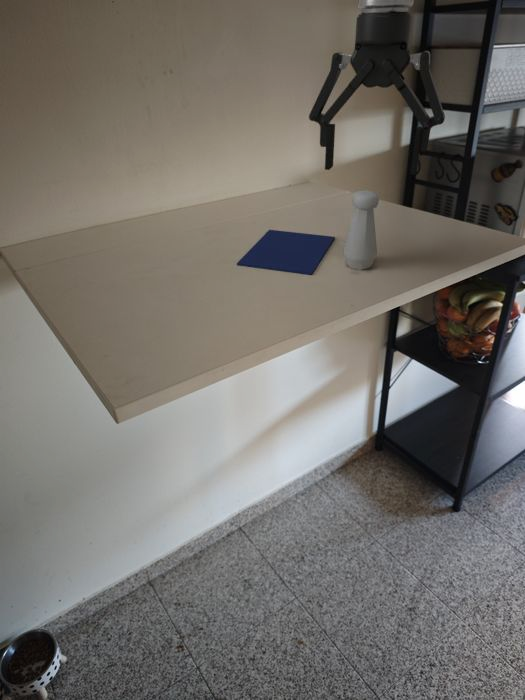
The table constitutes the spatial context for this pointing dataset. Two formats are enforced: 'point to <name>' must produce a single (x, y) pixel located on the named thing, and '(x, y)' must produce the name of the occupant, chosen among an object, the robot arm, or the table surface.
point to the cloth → (287, 252)
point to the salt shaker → (362, 231)
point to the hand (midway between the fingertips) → (370, 170)
